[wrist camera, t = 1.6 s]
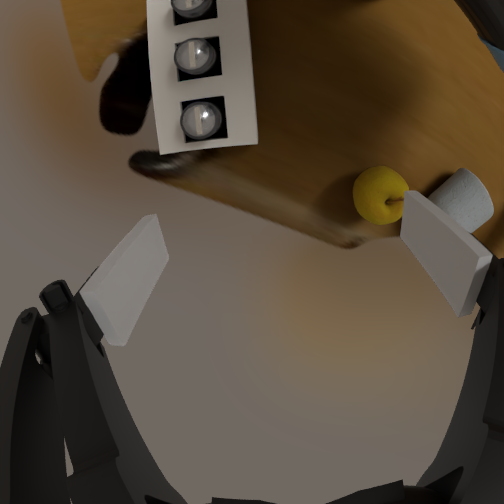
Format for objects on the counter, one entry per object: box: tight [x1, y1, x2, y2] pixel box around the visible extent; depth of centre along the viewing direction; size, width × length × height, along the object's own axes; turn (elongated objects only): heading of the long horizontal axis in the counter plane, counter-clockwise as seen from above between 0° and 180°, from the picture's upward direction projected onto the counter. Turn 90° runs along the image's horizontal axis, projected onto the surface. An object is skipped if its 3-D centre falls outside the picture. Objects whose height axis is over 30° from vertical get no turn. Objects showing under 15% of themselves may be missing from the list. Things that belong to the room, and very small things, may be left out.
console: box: [147, 0, 258, 155], centre depth 23 cm, size 19×10×4 cm, turn 4°
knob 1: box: [171, 0, 215, 22], centre depth 17 cm, size 4×4×4 cm
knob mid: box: [174, 38, 219, 77], centre depth 21 cm, size 4×4×4 cm
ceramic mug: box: [427, 168, 494, 233], centre depth 28 cm, size 11×8×8 cm
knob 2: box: [180, 102, 225, 139], centre depth 24 cm, size 4×4×4 cm
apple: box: [353, 166, 409, 225], centre depth 27 cm, size 6×6×8 cm
